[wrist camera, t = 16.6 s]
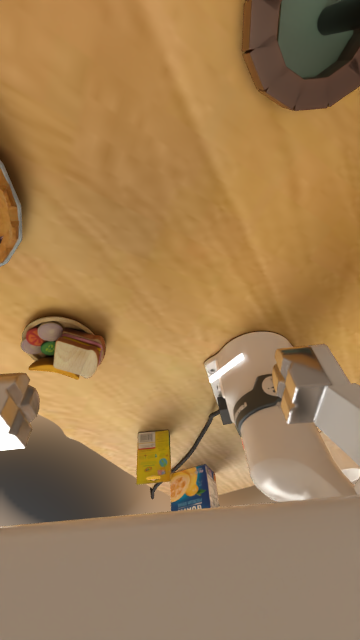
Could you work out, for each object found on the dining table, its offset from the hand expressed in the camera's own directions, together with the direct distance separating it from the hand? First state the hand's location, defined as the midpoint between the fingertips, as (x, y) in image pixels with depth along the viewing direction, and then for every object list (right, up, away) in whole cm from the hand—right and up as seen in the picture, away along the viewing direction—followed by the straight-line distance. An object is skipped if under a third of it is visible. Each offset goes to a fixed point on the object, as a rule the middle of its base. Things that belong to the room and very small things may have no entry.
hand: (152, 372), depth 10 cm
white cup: (+38, -27, +68) cm, 83 cm away
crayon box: (-5, -25, +63) cm, 68 cm away
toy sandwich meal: (-19, -2, +43) cm, 47 cm away
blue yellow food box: (+4, -42, +77) cm, 88 cm away
